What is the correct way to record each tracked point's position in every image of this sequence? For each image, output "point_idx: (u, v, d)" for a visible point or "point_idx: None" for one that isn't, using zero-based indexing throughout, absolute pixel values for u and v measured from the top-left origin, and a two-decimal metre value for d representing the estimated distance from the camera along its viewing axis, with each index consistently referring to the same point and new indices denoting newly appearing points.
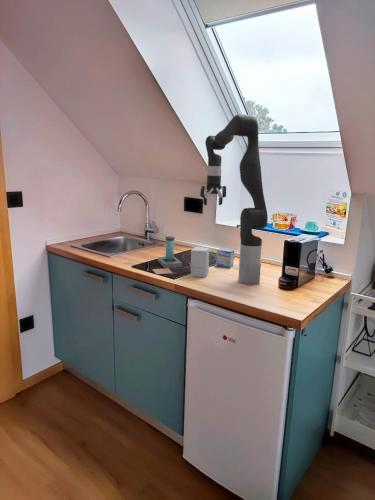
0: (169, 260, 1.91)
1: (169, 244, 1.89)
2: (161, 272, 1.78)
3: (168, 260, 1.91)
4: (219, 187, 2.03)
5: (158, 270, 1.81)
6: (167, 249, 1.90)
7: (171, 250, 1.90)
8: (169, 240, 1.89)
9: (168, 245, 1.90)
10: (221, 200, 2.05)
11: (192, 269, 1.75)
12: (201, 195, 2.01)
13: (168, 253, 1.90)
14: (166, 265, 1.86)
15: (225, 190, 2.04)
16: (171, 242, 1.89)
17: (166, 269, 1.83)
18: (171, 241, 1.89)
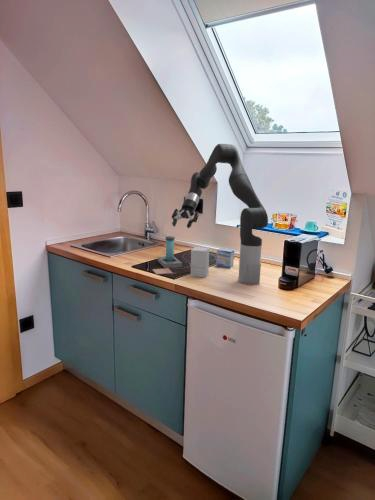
0: (169, 260, 1.91)
1: (169, 244, 1.89)
2: (161, 272, 1.78)
3: (168, 260, 1.91)
4: (191, 211, 2.02)
5: (158, 270, 1.81)
6: (167, 249, 1.90)
7: (171, 250, 1.90)
8: (169, 240, 1.89)
9: (168, 245, 1.90)
10: (189, 222, 1.98)
11: (192, 269, 1.75)
12: None
13: (168, 253, 1.90)
14: (166, 265, 1.86)
15: (196, 214, 2.00)
16: (171, 242, 1.89)
17: (166, 269, 1.83)
18: (171, 241, 1.89)
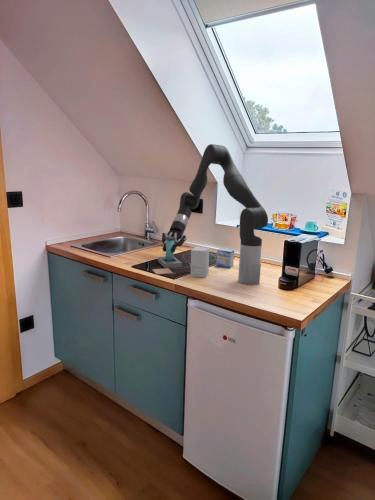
0: (169, 260, 1.91)
1: (169, 244, 1.89)
2: (161, 272, 1.78)
3: (168, 260, 1.91)
4: (179, 233, 1.93)
5: (158, 270, 1.81)
6: (167, 249, 1.90)
7: None
8: (169, 240, 1.89)
9: (168, 245, 1.90)
10: (173, 246, 1.90)
11: (192, 269, 1.75)
12: (162, 240, 1.94)
13: (168, 253, 1.90)
14: (166, 265, 1.86)
15: (182, 238, 1.90)
16: (171, 242, 1.89)
17: (166, 269, 1.83)
18: (171, 241, 1.89)
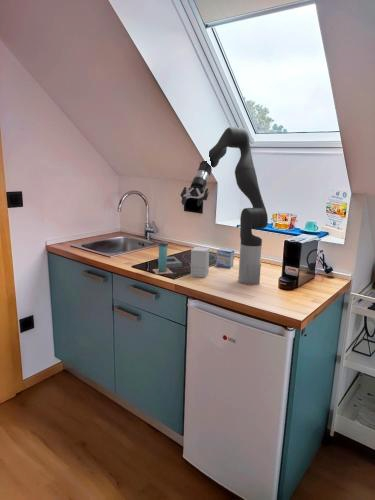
0: (162, 267, 1.78)
1: (162, 250, 1.76)
2: (161, 272, 1.78)
3: (161, 267, 1.78)
4: (201, 189, 1.94)
5: None
6: (160, 255, 1.77)
7: (164, 256, 1.77)
8: (162, 246, 1.75)
9: (161, 251, 1.76)
10: (199, 199, 1.91)
11: (192, 269, 1.75)
12: None
13: (161, 259, 1.77)
14: None
15: (206, 191, 1.92)
16: (164, 248, 1.76)
17: None
18: (164, 247, 1.76)
